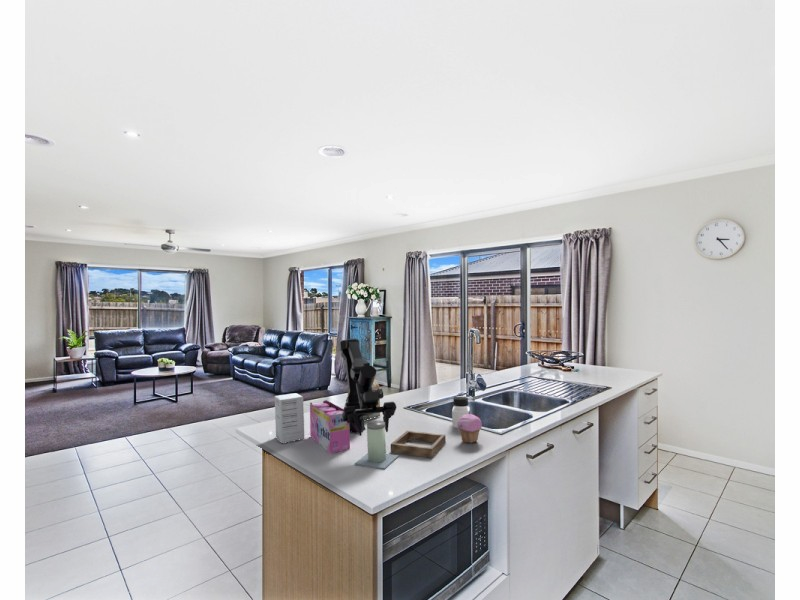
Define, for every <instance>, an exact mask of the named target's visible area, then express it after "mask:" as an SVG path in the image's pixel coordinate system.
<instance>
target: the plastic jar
mask: <svg viewBox="0 0 800 600" xmlns="http://www.w3.org/2000/svg"><path fill="white" fill-rule="evenodd" d="M366 433H367V435H366V436H367V440H366V441H367V453H368V461H369V462H372V463H380V462H383V461H385V460H386V454H387V453H386V452H387V448H386V447H387V445H386V443H387V442H386V430H385V422H384V421H383V420H371V421H367V423H366Z"/></svg>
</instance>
